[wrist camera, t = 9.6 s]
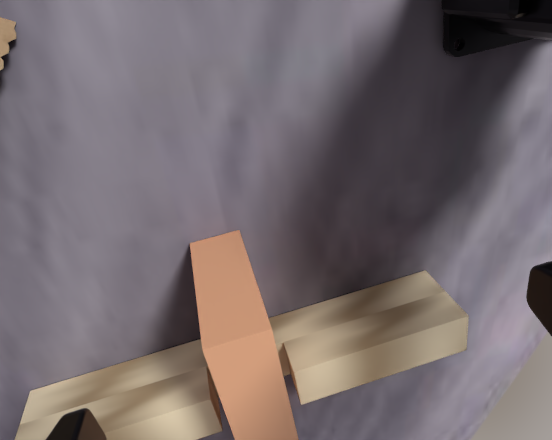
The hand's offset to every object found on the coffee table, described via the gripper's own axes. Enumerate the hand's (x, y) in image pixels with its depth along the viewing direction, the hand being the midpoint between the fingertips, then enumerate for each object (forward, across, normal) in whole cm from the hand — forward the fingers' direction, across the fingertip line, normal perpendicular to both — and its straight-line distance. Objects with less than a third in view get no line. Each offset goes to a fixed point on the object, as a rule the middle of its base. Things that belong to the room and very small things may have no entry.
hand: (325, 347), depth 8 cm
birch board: (+12, +2, +11) cm, 16 cm away
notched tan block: (+12, +2, +11) cm, 16 cm away
